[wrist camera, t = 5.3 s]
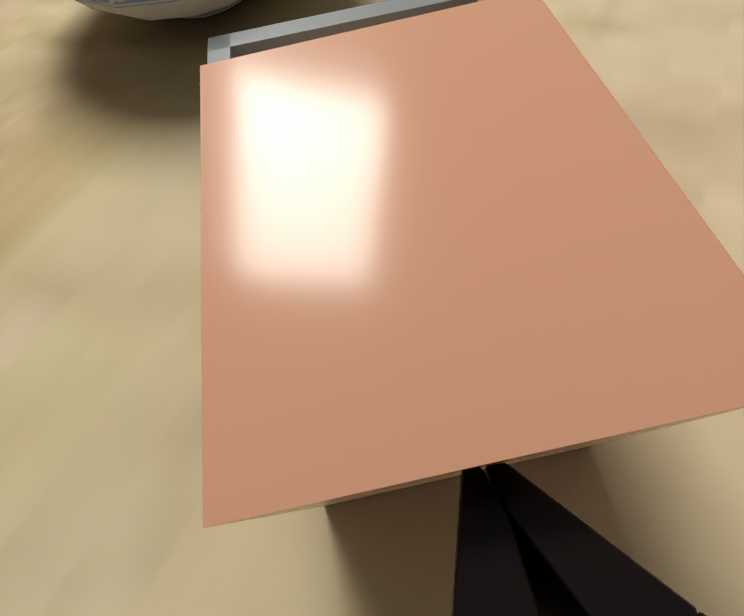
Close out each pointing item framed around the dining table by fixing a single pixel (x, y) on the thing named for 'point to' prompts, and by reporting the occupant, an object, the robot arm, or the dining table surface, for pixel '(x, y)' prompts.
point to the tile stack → (440, 264)
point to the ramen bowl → (161, 8)
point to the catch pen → (320, 26)
